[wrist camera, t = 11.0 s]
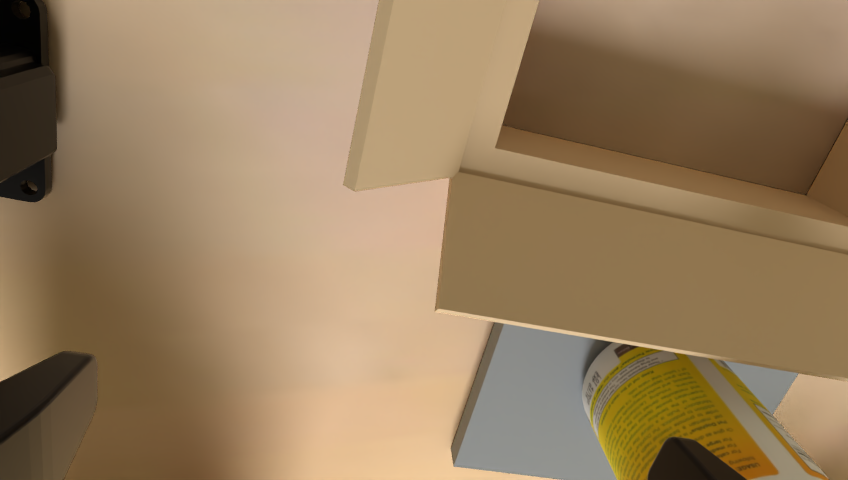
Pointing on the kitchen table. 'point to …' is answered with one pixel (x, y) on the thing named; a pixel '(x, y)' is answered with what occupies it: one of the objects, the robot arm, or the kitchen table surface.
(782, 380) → the slate mat
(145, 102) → the kitchen table surface
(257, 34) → the kitchen table surface
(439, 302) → the carton
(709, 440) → the supplement bottle
